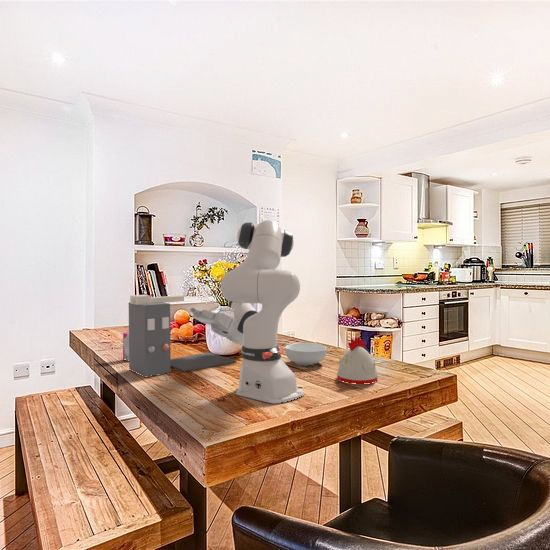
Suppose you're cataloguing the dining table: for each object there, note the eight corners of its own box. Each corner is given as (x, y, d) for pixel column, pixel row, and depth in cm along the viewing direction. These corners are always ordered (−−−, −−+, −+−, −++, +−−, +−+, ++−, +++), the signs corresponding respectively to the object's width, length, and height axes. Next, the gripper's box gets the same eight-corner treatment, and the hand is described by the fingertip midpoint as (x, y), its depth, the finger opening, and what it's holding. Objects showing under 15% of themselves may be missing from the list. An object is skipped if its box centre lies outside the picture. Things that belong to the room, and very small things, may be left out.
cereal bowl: (276, 363, 170) (276, 346, 170) (302, 357, 183) (302, 341, 182) (309, 371, 159) (309, 352, 159) (334, 363, 171) (334, 346, 171)
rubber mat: (235, 362, 173) (235, 360, 173) (184, 372, 157) (184, 370, 157) (209, 354, 188) (209, 352, 188) (159, 362, 172) (159, 360, 172)
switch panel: (171, 373, 156) (171, 303, 155) (146, 378, 149) (145, 305, 148) (153, 365, 167) (153, 300, 166) (129, 370, 160) (128, 302, 159)
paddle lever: (186, 301, 165) (185, 293, 165) (137, 304, 151) (137, 296, 151) (178, 300, 169) (178, 292, 169) (130, 303, 156) (130, 295, 156)
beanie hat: (329, 378, 149) (329, 336, 149) (355, 372, 158) (356, 332, 157) (358, 387, 138) (358, 342, 138) (385, 380, 146) (385, 338, 146)
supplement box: (142, 359, 178) (141, 332, 177) (129, 362, 173) (128, 334, 173) (135, 357, 182) (135, 331, 181) (122, 359, 177) (122, 333, 177)
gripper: (210, 315, 188) (187, 301, 180) (238, 319, 173) (213, 304, 165) (205, 328, 186) (180, 314, 178) (232, 333, 171) (207, 319, 163)
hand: (196, 310), depth 171 cm, fingers open, 8 cm apart
